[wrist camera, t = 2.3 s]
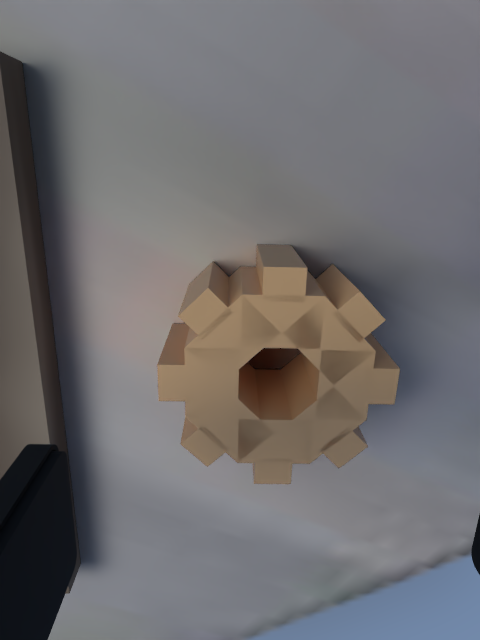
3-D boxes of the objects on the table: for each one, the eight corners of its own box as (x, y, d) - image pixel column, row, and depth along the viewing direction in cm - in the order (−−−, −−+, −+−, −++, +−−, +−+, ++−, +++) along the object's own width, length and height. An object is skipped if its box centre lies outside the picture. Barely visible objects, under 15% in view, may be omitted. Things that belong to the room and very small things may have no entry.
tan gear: (376, 247, 16) (415, 270, 12) (353, 424, 18) (381, 484, 15) (170, 242, 16) (153, 264, 12) (175, 422, 18) (161, 482, 15)
